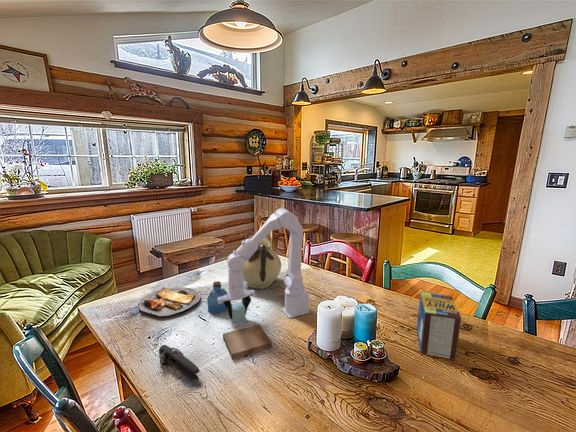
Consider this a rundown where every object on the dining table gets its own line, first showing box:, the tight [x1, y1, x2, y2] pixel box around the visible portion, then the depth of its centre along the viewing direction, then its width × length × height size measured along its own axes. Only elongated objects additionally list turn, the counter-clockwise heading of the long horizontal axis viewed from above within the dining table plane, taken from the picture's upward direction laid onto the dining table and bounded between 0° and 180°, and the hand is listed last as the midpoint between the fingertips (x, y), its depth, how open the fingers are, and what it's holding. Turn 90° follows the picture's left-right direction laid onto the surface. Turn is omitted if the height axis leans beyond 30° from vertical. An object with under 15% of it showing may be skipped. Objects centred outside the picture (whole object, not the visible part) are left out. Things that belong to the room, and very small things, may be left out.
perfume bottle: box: [206, 281, 228, 314], centre depth 121 cm, size 6×6×12 cm
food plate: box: [137, 286, 201, 317], centre depth 127 cm, size 25×23×4 cm
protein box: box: [416, 291, 462, 361], centre depth 99 cm, size 10×15×16 cm
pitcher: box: [243, 232, 282, 289], centre depth 144 cm, size 22×24×25 cm
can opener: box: [158, 344, 200, 382], centre depth 88 cm, size 18×7×6 cm, turn 54°
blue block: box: [229, 301, 246, 326], centre depth 114 cm, size 5×5×6 cm
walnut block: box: [222, 323, 273, 360], centre depth 100 cm, size 14×12×2 cm
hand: (237, 315), depth 114 cm, fingers closed on blue block, 5 cm apart
